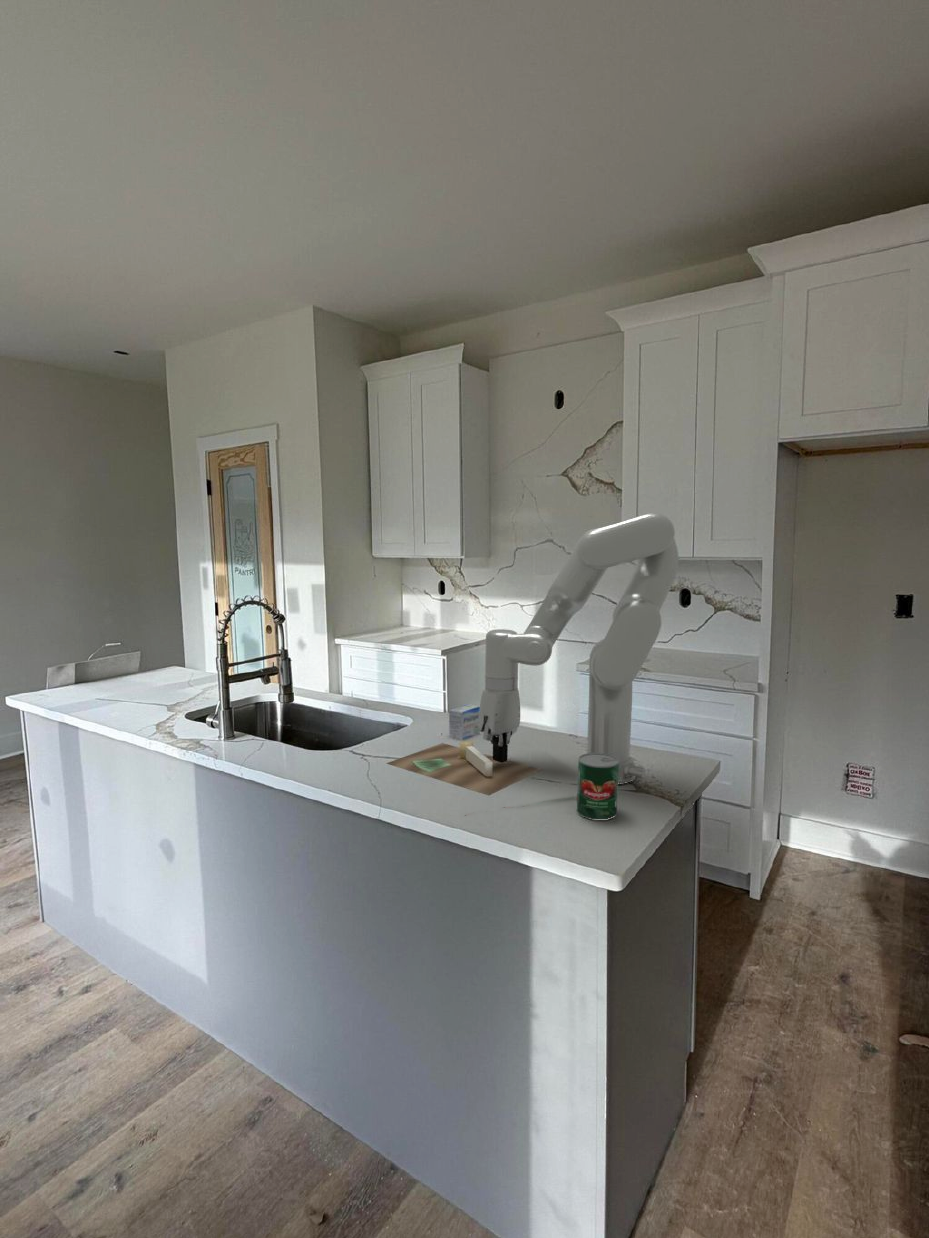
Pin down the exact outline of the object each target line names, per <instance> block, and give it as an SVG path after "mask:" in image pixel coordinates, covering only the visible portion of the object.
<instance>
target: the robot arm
mask: <svg viewBox="0 0 929 1238" xmlns="http://www.w3.org/2000/svg"><path fill="white" fill-rule="evenodd" d="M675 532H676V531H675V526H674V524H673V522H672V520H671V519H670V518H669V517H667V516H666V515H665V514H662V513H659V512H649V513H644V514H641V515H639V516H636V517H633V518H630V519H626V520H623V521H620V522H618V523H613V524H610V525H606V526H602V527H597V528H591V529H589V530H587V531H586V532H584V533H583V534H582V535H581V536H580V537H579V539H578V541H577V544H575V547H574V548H573V550H571V553H570V554H569V556H568V558H567V560H566V561H565V562H564V564H563V566H562V568H561V569H560V571H559V572H558V574H557V575H556V577H555V579H554V580H553V581H552V584H551V585H550V587H549V589H548V591H547V593H546V596H545V598H544V600H543V601H542V603H541V605H540V606H539V608H538V609H537V610H536V612H535V614H534V616H533V617H532V619H531V621H530V623H529V625H527V627H526V629H525V630H524V632H523V633H517V632H516V631H514V630H513V629H507V628H506V629H505V628H504V629H502V628H501V629H491V630H489V631H488V632H487V633H486V634H485V635H486V636H485V657H484V658H485V662H484V663H485V667H484V670H485V671H484V673H485V674H484V690H482V693H481V698H480V702H479V707H480V710H479V731H480V732H481V733H483V736H482V738H483V739H482V740H485V741H489V742H490V744H491V745H492V756H493V760H495V761H498V762H501V763H503V762H506V761H507V760H508V755H509V753H508V751H509V750H508V747H509V746H508V745H509V744H510V741H511V738H512V735H514V734H515V733H517V732H518V728H519V726H520V724H521V699H520V698H521V697H520V691H519V688H518V686H519V664H521V665H526V666H534V667H535V666H536V667H537V666H542V665H544V664H545V663H547V662H548V661H549V659H550V658H551V656H552V653H553V647H554V645H555V644H556V642H557V641H558V639H559V637H560V636H561V634H562V632H563V631H564V629H565V628H566V626H567V625H568V623H569V622H570V620H571V619H572V618H573V617H574V615H576V613H577V612H579V611H581V610H582V608H583V607H584V606H585V604H586V603H587V602H588V601H589V598H590V597H591V595H592V594H593V592H594V590H595V589H596V587H597V585H598V584H599V583H600V580H601V579H602V578H603V576H604V575H605V573H606V571H607V570H608V569H609V568H610V567H611V568H612V567H617V566H620V565H623V564H627V563H630V562H634V561H637V560H638V561H637V564H636V567H635V569H634V572H633V573H632V576H631V579H630V581H629V583H628V585H627V586H626V588H625V591H623V594H622V596H621V597H620V600H619V601H618V603H617V604H616V605H615V607H614V610H613V612H612V623H611V624H610V627H609V629H608V631H607V633H606V635H605V637H604V638H603V639H600V640H599V641H597V642H596V643H595V644H594V646H593V647H592V648H591V651H590V653H589V661H588V672H589V673H588V675H589V676H588V683H589V684H588V712H587V715H588V716H587V743H586V744H587V745H586V754H588V753H602V754H608V755H612V756H614V757H616V758H617V759H618V760H619V771H618V783H619V784H620V783H625V782H629V781H631V780H634V779H635V778H638V779H644V778H645V776H646V768H645V766H641V765H636V764H635V757H631V755H630V754H631V732H632V731H631V729H632V713H633V712H632V711H633V682H634V680H636V678H637V676H638V675H639V672H640V671H641V668H642V667H643V666H644V663H645V662H646V659H647V657H648V655H650V652H651V650H652V648H653V646H654V644H655V643H656V641H657V638H658V636H659V634H660V631H661V628H662V627H661V626H662V615H661V613H660V611H661V609H662V608H663V605H664V603H665V601H666V599H667V597H668V594H669V592H670V591H671V588H672V586H673V584H674V582H675V579H676V577H677V573H678V568H679V551H678V546H677V543H676V540H675ZM635 780H636V779H635ZM635 780H634V781H635Z"/></svg>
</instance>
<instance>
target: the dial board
mask: <svg viewBox="0 0 929 1238" xmlns="http://www.w3.org/2000/svg"><path fill="white" fill-rule="evenodd" d="M482 754H483V755H484V756H485V757H487V758H488V759H489V760H490V761H492V776H491V777H487V776H485V775H484V774H483V773H482V772H480V771H479V770H478V769H477V768H476V767H475V766H474V765H472V764H471V763H470V762H469V761H468V760H467V759H464V758H461V757H460V746H454V745H450V744H447V743H444V742H442V743H438V744H436V745H433V746H431V747H427V748H425V749H422V750H420V751H417V752H414V753H411V754H408V755H405V756H403V757H400V758H398V759H397V758H396V759H395V760H392V761H389V762H386V764H387V765H391V766H393V767H397V768H400V769H403V770H406V771H409V772H413V773H416V774H419V775H423V776H425V777H428V778H431V779H435V780H438V781H441V782H445V783H448V784H450V785H453V786H454V785H455V786H458V787H461V788H464V789H467V790H469V791H470V790H471V791H474V792H476V793H477V792H478V793H480V794H483V795H485V796H491V795H492V794H495V793H496V792H499V791H501V790H503V789H505V788H508V787H509V786H512V785H513V784H514V783H517V782H520V781H521V780H523V779H525V778H528V777H531V776H532V775H533V774H535V773H537V772H540V771H542V768H538V767H534V766H530V765H527V764H526V765H525V764H523V763H519V762H515V761H511V760H509V759H507V761H506V762H503V763H501V762H498V761H495V760H493V755H488V754H484V753H482Z"/></svg>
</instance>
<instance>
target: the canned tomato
mask: <svg viewBox="0 0 929 1238" xmlns="http://www.w3.org/2000/svg"><path fill="white" fill-rule="evenodd" d="M577 760H578V767H577V769H578V770H577V772H578V773H577V790H576V791H577V794H576V795H577V797H576V798H577V799H576V813H577V812H578V813H579V814H580V815H581V816H584V817H586V818H591V819H608V818H611V817H613V816H615V815H616V813H617V814H618V812H617V810H618V790H619V785H618V771H619V760H618V759H617V758H616V757H614V756H612V755H608V754H602V753H588V754H587V753H584V754H581V755H580V756H579V757H578V759H577ZM578 813H577V814H578ZM580 815H579V816H580ZM581 816H580V817H581ZM586 818H585V819H586Z"/></svg>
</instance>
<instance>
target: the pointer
mask: <svg viewBox="0 0 929 1238" xmlns="http://www.w3.org/2000/svg"><path fill="white" fill-rule="evenodd" d="M459 748H460V757H461V758H464V759H467V760H468V761H469V762H470V763H471V764H472V765H474V766H475V767H476V768H477V769H478V770H479V771H480V772H482V773H483V774H484V775H485V776H487V777H491V776H492V761H490V760H489V759H488V758H487V757H485V756H484V755H483V754H484V753H482V752H481V751H479V750H478V749H477V748H476V747H474V742H473V740H460V742H459Z"/></svg>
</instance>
